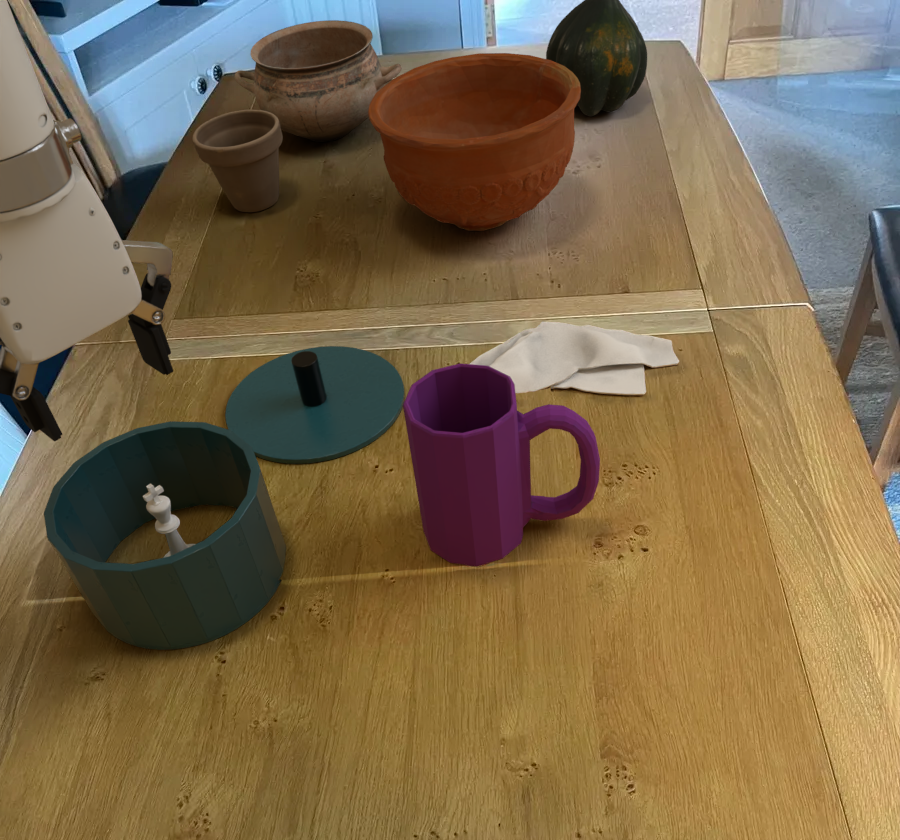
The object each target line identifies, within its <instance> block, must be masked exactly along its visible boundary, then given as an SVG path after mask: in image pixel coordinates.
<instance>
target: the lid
mask: <svg viewBox="0 0 900 840" xmlns="http://www.w3.org/2000/svg"><path fill="white" fill-rule="evenodd" d="M404 401H405V386H404V382H403V378H402V376H401V374H400V373H399V371H398V370H397V369H396V367H395V366H394V365H393V364H392V363H390V362H389V361H388V360H387V359H386V358H384V357H382V356H380V355H378V354H376V353H374V352H371V351H369V350H366V349H362V348H357V347H352V346H341V345H328V346H316V347H309V348H303V349H300V350H299V349H298V350H295V351H293V352H289V353H286V354H283V355H280V356H278V357H275V358H273V359H271V360H269V361H267V362H265V363H264V364H262V365H260V366H258V367H256V369H254V370H252V371H251V372H250V373H248V374H247V375H246V376H245V377H244V378H243V379H242V380H241V381H240V382H239V383H238V384H237V385H236V387H235V388H234V390H233V391H232V392H231V394H230V396H229V398H228V400H227V402H226V403H227V404H226V407H225V414H224V416H225V424H226V427H227V429H228V430H231V431H233V432H234V433H235V434H236V435H238V436H239V437H240V438H241V439H243V440H244V441H245V442H246V443H247V444H249V445H250V446H251V447H252V448H253V451H254V454H255V456H256V458H259V459H262V460H266V461H269V462H273V463H279V464H289V465H290V464H292V465H298V464H299V465H303V464H314V463H321V462H322V463H323V462H327V461H332V460H335V459H339V458H342V457H345V456H347V455H350V454H352V453H355V452H357V451H359V450H361V449H363V448H365V447H366V446H368V445H370V444H372V443H373V442H375V441H376V440H378V439H379V438H380V437H381V436H383V435H384V434H385V433H386V432H387V431H388V430H390V428H391V427H392V426H393V424H394V423H395V422H396V420H397V419H398V417H399V415H400V414H401V412H402V410H403V404H404Z"/></svg>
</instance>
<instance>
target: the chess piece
mask: <svg viewBox="0 0 900 840" xmlns="http://www.w3.org/2000/svg"><path fill="white" fill-rule="evenodd" d="M146 487H147V489H148V491H149V492H148V493H146V494H145V495H143V498H144V500H145V501H146V502H147V505H146V509H147V510H148V512H149V513H150V514H151V515H153V516H154V517H155V519H156V521H155V523H154V529H155V532H157V533H158V534H163V535H165V538H166V543H167V545H168V548H169V551H167V553H165V554H164V555H163V557H162V558H164V557H169V556H171V555H174V554H176V553H178V552H180V551H182V550H184V549H186V548H189V547H191V546H193V545H195V544H196V543H186V541H184V539H183V538H182V536H181V535H180V533H179V531H178V528H179V527H180V525H181V520H180V518H179V517H178V516H177V515H175V514H172V511H171V502H170V499H169V498H168V497H166V496H162V495H160V496H158V495H159V494H160V493H162V492H163V491H164V490H163V488H162V487H161V486H160V485H158V486H157V487H155V488H154V486H153V485H152V484H151V483H150V484H149V485H147V486H146Z"/></svg>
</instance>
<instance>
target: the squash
mask: <svg viewBox="0 0 900 840" xmlns="http://www.w3.org/2000/svg"><path fill="white" fill-rule="evenodd" d="M545 59H548V60H551V61H554V62H556V63H558V64H561V65H563V66H565V67H566V68H568V69H569V70H570V71H572V72H573V73H574V75H575V76H576V77H577V78H578V80H579V82H580V88H581V93H580V99H579V101H578V103H577V105H576V107H578V108H579V110H580V112H581V113H582V114H584V115H585V116H588V117H594V116H596V115H598V114H599V113H600V112H601V111H604V112H606V113H607V112H608V113H609V112H614V111H615V110H618V109H619V108H620V107H622V106H623V105H624V103H625V101H628V100H629V99H630V98H632V97H633V96H635V95H636V94H637V92H638V91H639V89H640V87H641V86H642V85H643V82H644V80H645V77H646V73H647V68H648V49H647V45H646V41H645V39H644V37H643V34H642V33H641V31H640V28H639V27H638V24H637V23H636V22H635V20H634V18H633V17H632V15H631V14H630V13H629V11H628V10H627V9H626V8H625V7H624V5H623V4H622V3H621V1H620V0H583V1H581V2H580V3H579V4H577V5H575V7H573V9H571V10H570V11H569V13H567V14H566V15H565V16H564V17H563V18H562V19H561V21H560V22H559V23H558V25H556V27H555V29H554V31H553V33H552V34H551V37H550V38H549V41H548V45H547V48H546V52H545Z"/></svg>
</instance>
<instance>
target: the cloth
mask: <svg viewBox="0 0 900 840" xmlns="http://www.w3.org/2000/svg"><path fill="white" fill-rule="evenodd" d="M469 364H473V365H486V366H490V367H492V368H494V369H496V370H498V371H500V372H502V373H504V374H506V375H508V376H510V377H511V379H512V381H513V382H514V384H515V394H524V393H528V392H538V391H542V390H544V389H547V388H549V387H550V389H565V390H566V389H570V388H572V389H575V390H578V391H581V392H586V393H593V394H594V393H595V394H602V395H603V394H604V395H619V396H644V395H646V393H647V388H646V386H647V385H646V374H645V366H647V367H648V368H649V367H650V368H652V369H657V368H663V367H670V366H677V365H679V364H680V360H679V358H678V356H677V355H676V353H675V351H674V347H673V341H672V340H671V339H667V338H663V337H659V336H653V335H648V334H639V333H633V332H630V331H627V330H624V329H613V328H603V327H599V326H595V325H592V324H584V325H576V324H571V323H568V322H567V323H566V322H559V321H541V322H540V323H539V324H538V325H537V326H535V327H529V328H524V329H522V330H521V331H519V332H518V333H516V334H514V335H512V336H511V337H510V338H508V339H506V340H505V341H504V342H502V343H500V344H498V345H496V346H494V347H493V348H491V349H488V350H487V351H485V352H483V353H482V354H480V355H478V356H477V357H475V358H474V359H473V360H472V361H470V362H469Z"/></svg>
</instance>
